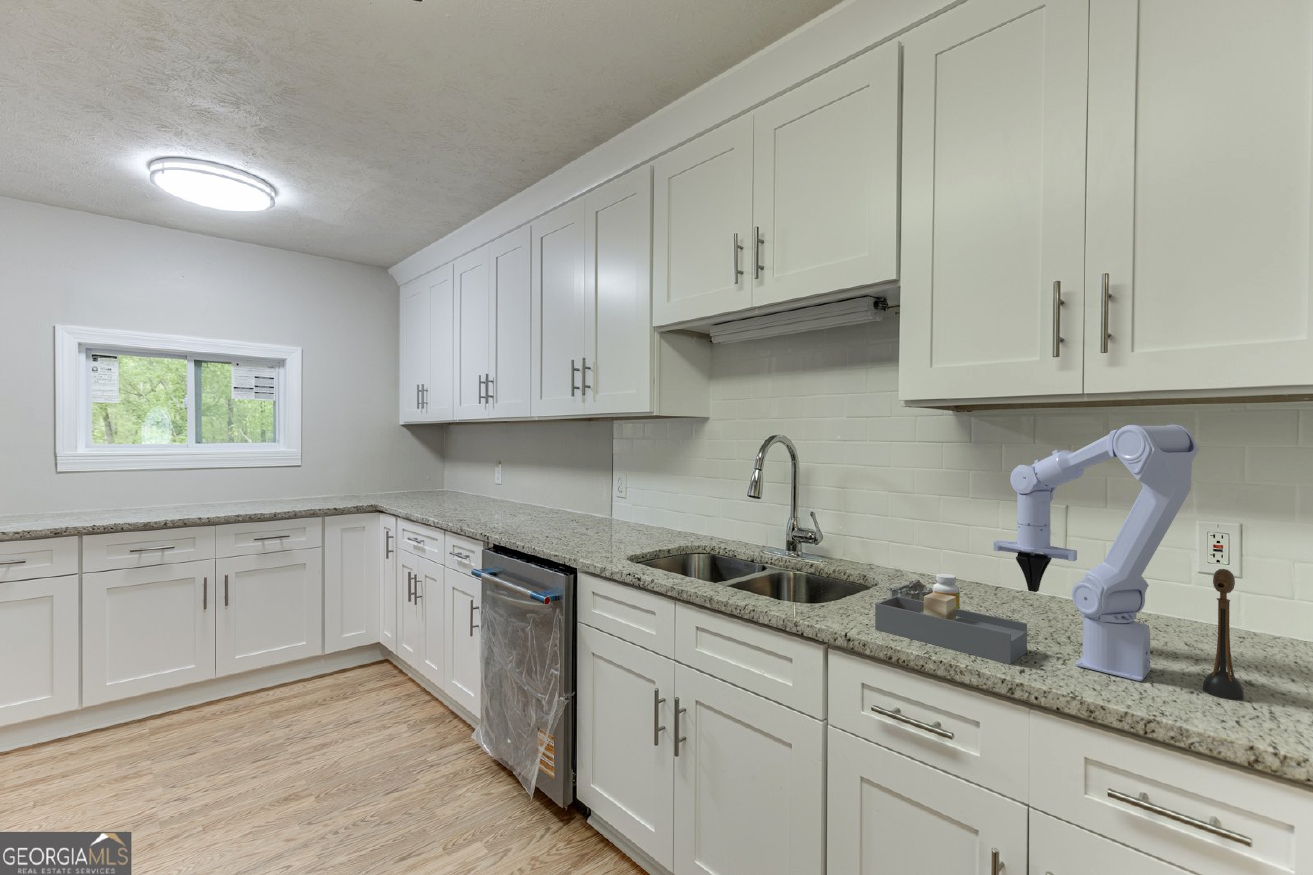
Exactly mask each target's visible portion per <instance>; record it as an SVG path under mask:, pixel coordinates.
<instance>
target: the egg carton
mask: <svg viewBox="0 0 1313 875" xmlns="http://www.w3.org/2000/svg"><path fill="white" fill-rule="evenodd" d="M886 589H887V590H888V592H889V593H888V594H889V598H891V597H894V596H899V597H904V598H909V599H914V600H918V601H923V602H924V596H926V595H928V594H931V593H933V587H929V589H928V587H927V585H926V584H925V583H923V582H921V580H920V579H918V580H917V579H915V580H911V581H909V582H908V584H906V583H904V584H902V585H900V586H893V587H886ZM889 598H888V599H889Z"/></svg>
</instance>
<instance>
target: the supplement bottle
mask: <svg viewBox="0 0 1313 875" xmlns="http://www.w3.org/2000/svg"><path fill="white" fill-rule="evenodd" d="M935 579H936V582H937V583H935V584H933V586H932V590H933V592H934V593H939V594H944V595H949V596H954V597H956V609H960V606H961V605H960V602H961V601H960V597H961V596H960V593H961V592H960V591H961V590H960V587H959V586H958V585H957V584H956V583H957V576H956V575H954V574H950V573H936V577H935Z"/></svg>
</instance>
